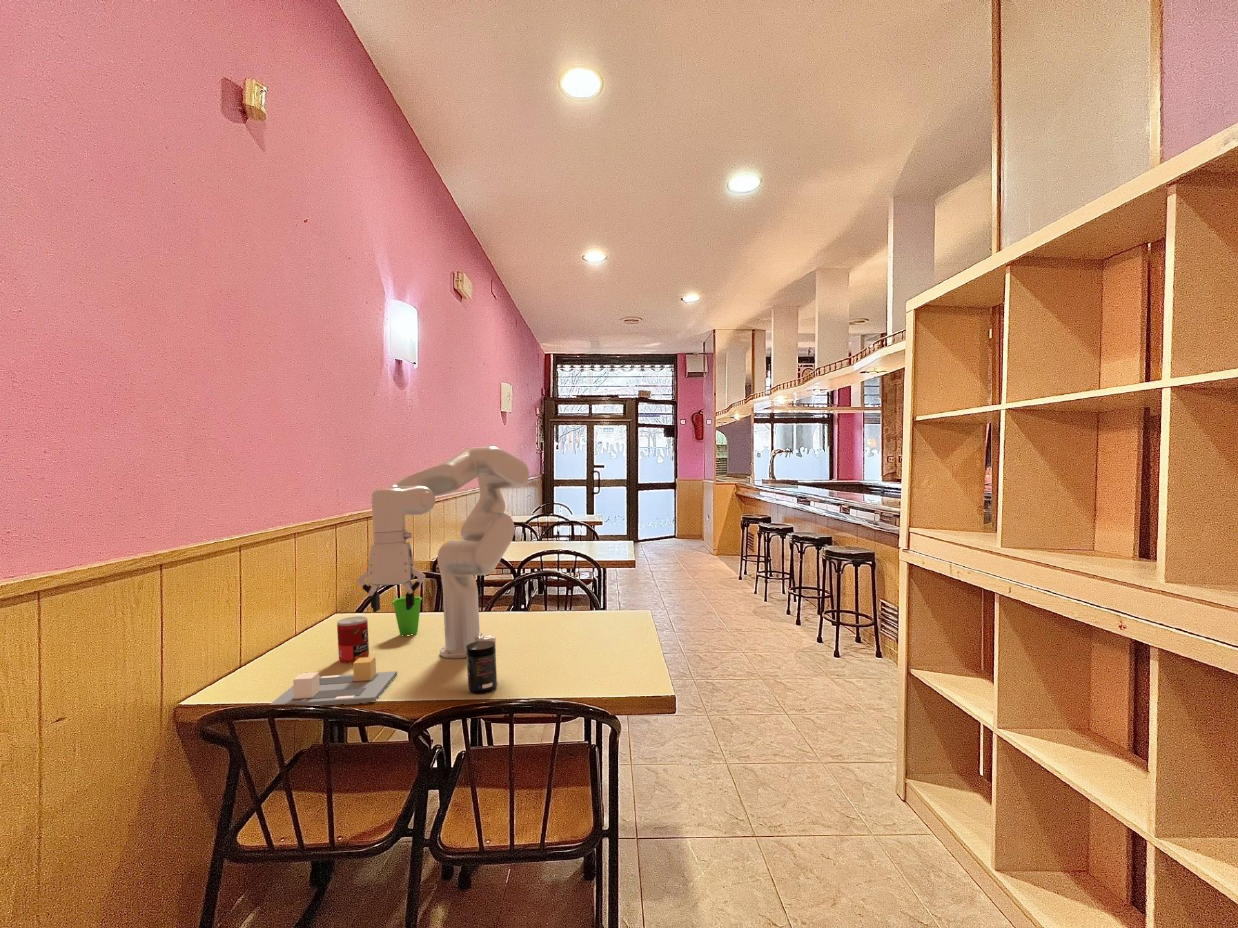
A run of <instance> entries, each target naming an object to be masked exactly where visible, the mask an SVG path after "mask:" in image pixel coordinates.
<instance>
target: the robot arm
mask: <svg viewBox="0 0 1238 928" xmlns="http://www.w3.org/2000/svg"><path fill="white" fill-rule="evenodd" d="M476 478H477V482H478V488H479V497H478V501H477V503H476V504H475V505H474V507H473V508H472V510H471V511H470V513H468V514H469V515H468V516H467V517H466V519H465V520H464V522H463V523H462V526H461V527H460V536H461V538H462V539H451V540H448V541H446V542H445V543H443V544H442V545H441V546H440V548H439V549H438V551H437V558H436V559H437V565H438V569H439V573H440V578H441V584H442V598H443V599H442V602H443V603H442V605H443V623H444V624H443V625H444V627H443V628H444V640H445V642H444V643H445V645H444V646H442V647H441V648H440V649H439V655H440V656H441V657H443V658H446V659H447V658H448V659H461V658H462V659H463V658H464V659H465V658H467V654H466V646H467V645H468V644H470V643H473V642H478V641H492V642H495V644H497V643H496V641H497V639H496V636H493V635H487V636H485V635H483V631H480V615H479V613H480V612H479V610H480V609H479V591H478V590H479V589H478V585H477V581H476V578H475V577H474V576H487V575H489V574H491V573H492V572H493V571H494V570H495V569H496V567H498V564H499V563H500V561H502V560H501V559H502V558H503V557H504V555H505V553H506V551H507V550H508V548H509V547H510V545H511V542H512V541H513V538H514V535H515V522H514V520H513V518H512V517H511V516H510V515H509V514H507V513H505V510H506V502H505V499H504V497H503V494H502V491H501V489H503V490H504V489H521V488H523V487H524V486H526V485H527V483H528V481H529V479H530V471H529V467H528V466H527V464H526V463H525V462H524V461H523V460H521V459H520V458H518V457H516V456H515V455H513V454H511V453H510V452H508V451H506V450H504V449H502V448H499V447H497V446H491V445H490V446H479V447H475V446H474V447H470V448H466V449H465V450H462V451H461V452H459V453H457V454H455V455H454V456H452V457H451V458H449V459H448V460H445V461H443V462H442V463H440V464H438V465H434V466H431V467H429V468H427V469H424V470H421V471H418V472H415V473H413V474H410V475H408V476H406V477H404V478H402V479H400V480H398V481H396V482H395V483H393V484H391V485H390V486H389V487H386V488H378V489H375V490H372V493H371V512H372V513H371V514H372V516H371V517H372V535H373V538H372V539H373V543H372V544H371V545H370V550H369V558H368V569H367V571H366V572H364V573H363V574H362V575H360V577H359V578H357V580H356V582H357V583H358V584H359V586H360V587H362V589H363V590H364V592H366V594H367V595H368V596H369V597H370V607H371V609H372V612H373V613H377V612H378V611H379V610H381V602H380V601H381V600H380V599H381V597H380V593H378V591H379V590H380V587H381V586H392V585H394V586H395V585H403V587H404V589H405V590H406V594H405V597H406V610H410V609H411V608H412V607H413V605H414V596H415V591H416V590H417V589H418V588H420V585H422V583H423V581H424V580H425V579H426V578H427V576H426V574H425V573H423V572H422V571H421V570H419V569H417V568H416V567H415V562H414V557H413V551H412V550H413V549H412V546H411V543H410V541H408V539H411V538H412V536H413V535H412V534H413V533H412V532H409V531H407V529H406V516H421V515H425V514H427V513H429V512H431V511H432V509H433V508H434V507H435V504H436V496H442V495H443V496H444V495H447V494H450V493H454V492H456V491H458V490H459V489H461V488H463V487H464V486H465V485H467V484H468V483H470V482H472V481H473V480H474V479H476ZM415 577H417V579H416V580H415V582H414V583H413V582H412V580H414V579H415ZM367 579H368V582H369V583H368V582H367Z"/></svg>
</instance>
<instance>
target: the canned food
mask: <svg viewBox="0 0 1238 928" xmlns="http://www.w3.org/2000/svg"><path fill="white" fill-rule="evenodd" d="M336 629H337V646H338V647H337V648H338V651H337V652H338V659H339V662H340V663H341V664H353V663H354V662H355V661H356V660H357V659H358V658H365V657H370V645H369V623H368V617H367V616H360V615H359V616H350V617H345V618H341V619H339V620H337V624H336Z"/></svg>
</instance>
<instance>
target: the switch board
mask: <svg viewBox="0 0 1238 928" xmlns="http://www.w3.org/2000/svg"><path fill="white" fill-rule="evenodd" d="M396 676H397V677H398V670H395V671H380V672H377V671H376V675H375V676H374V677H373V678H372V679H371V680H365V681H354V673H350V674H349V673H347V674H337V675H336V674H335V675H319V684H320V691H319V692H318V693H317V694H316V695H315V696H314V697H313V698H300V699H294V685H292V686H291V687H290V688H288V689H287V690H286V691H284V692H283V693H282V694H281V695H280V696H278V697H277V698H276V699H274V700H273V701H272V702H271V703H269V705H285V704H288V705H289V704H296V705H334V706H336V705H335V704H344V705H343V706H345V705H346V706H347V705H359V703H362V704H368V703H367V702H372V701H376V699H378V698H380V697H381V696H382V695H383V694H382V692H383V693H385V691H386V690H387V689H388V688H389V686H390V685H391V684H392V683H391V681H393V682H394V680H395V679H396V678H397V677H396ZM395 677H396V678H395ZM394 678H395V679H394ZM393 679H394V680H393ZM390 683H391V684H390ZM389 684H390V685H389ZM388 685H389V686H388ZM387 687H388V688H387ZM386 688H387V689H386ZM385 689H386V690H385ZM384 690H385V691H384ZM381 694H382V695H381ZM380 695H381V696H380ZM379 696H380V697H379ZM378 700H379V699H378ZM376 702H377V701H376Z"/></svg>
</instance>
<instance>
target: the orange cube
mask: <svg viewBox="0 0 1238 928" xmlns="http://www.w3.org/2000/svg"><path fill="white" fill-rule="evenodd" d="M376 659H377V658H376V656H368V657H365V658H358V659H357V660H356V661H355V662H354V663H352V666H353V667H352V668H353V669H352V670H353V674H354V681H365V680H371V679H372V678H373V677H374V676H375V675H376V672H377V662H376V661H377V660H376Z"/></svg>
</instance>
